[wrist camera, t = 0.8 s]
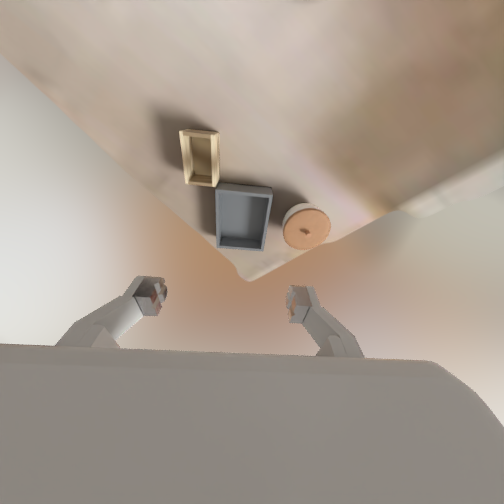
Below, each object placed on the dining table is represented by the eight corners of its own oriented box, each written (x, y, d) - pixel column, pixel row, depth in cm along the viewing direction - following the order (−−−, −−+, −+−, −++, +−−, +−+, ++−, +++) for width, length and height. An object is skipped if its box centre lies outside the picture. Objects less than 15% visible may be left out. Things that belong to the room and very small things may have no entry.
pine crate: (188, 128, 36) (179, 131, 31) (219, 132, 36) (214, 135, 31) (193, 175, 41) (185, 184, 36) (219, 178, 42) (215, 187, 37)
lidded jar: (271, 213, 47) (275, 232, 40) (308, 187, 43) (319, 202, 35) (293, 240, 52) (299, 261, 45) (327, 218, 48) (341, 238, 40)
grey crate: (218, 182, 42) (215, 189, 38) (271, 187, 43) (273, 195, 39) (219, 237, 51) (216, 247, 47) (262, 240, 52) (263, 251, 48)
